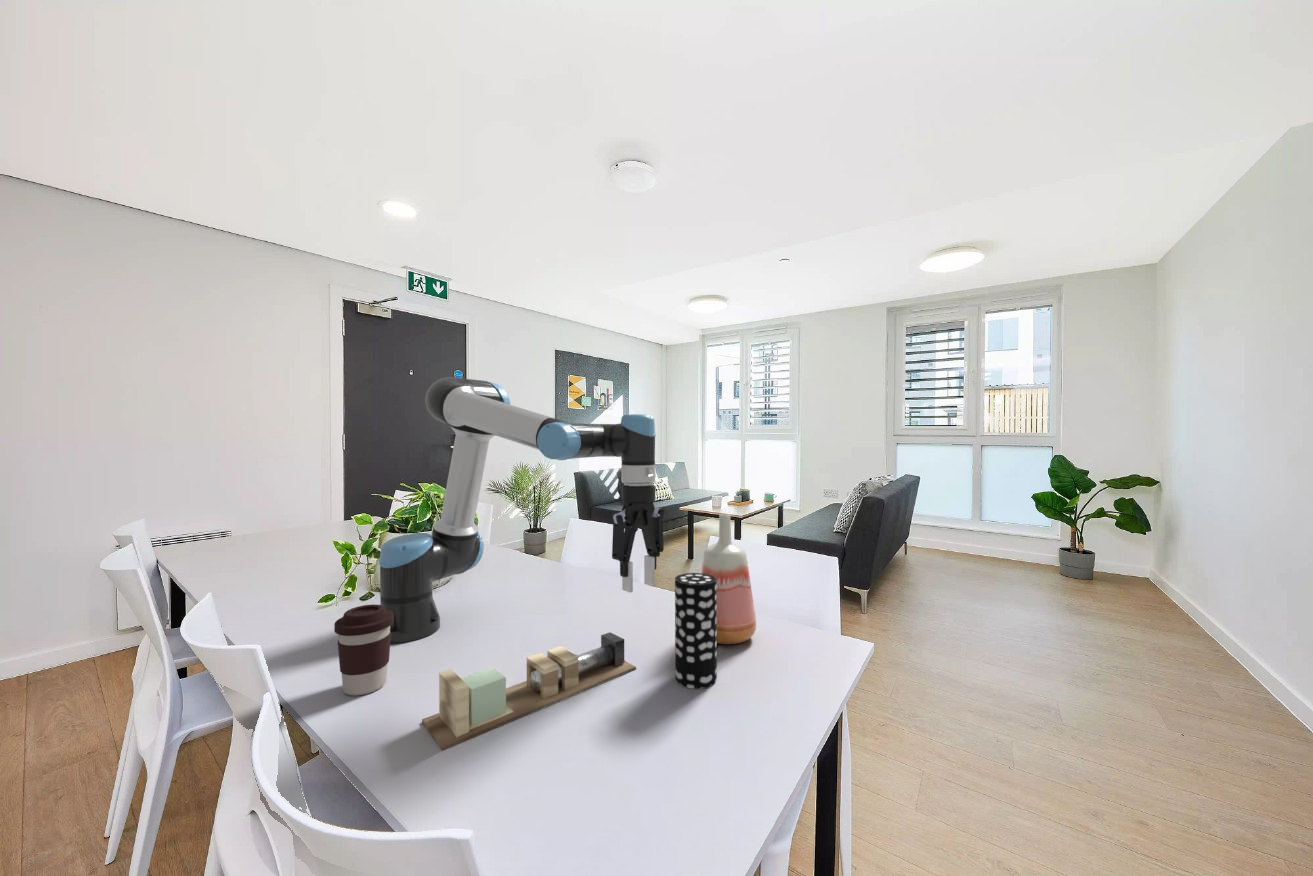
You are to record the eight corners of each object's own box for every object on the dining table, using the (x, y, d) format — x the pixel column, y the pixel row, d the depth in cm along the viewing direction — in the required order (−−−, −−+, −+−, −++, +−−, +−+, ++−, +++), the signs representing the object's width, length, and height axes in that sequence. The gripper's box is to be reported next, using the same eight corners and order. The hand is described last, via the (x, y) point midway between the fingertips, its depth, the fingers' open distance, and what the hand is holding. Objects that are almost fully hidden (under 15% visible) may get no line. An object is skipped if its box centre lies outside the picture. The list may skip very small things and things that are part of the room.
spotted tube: (720, 671, 101) (720, 575, 101) (711, 691, 93) (711, 586, 93) (681, 665, 104) (681, 571, 103) (669, 684, 96) (669, 582, 96)
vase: (687, 644, 114) (687, 517, 114) (705, 622, 128) (705, 508, 128) (749, 654, 109) (749, 521, 109) (761, 630, 122) (760, 511, 122)
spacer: (460, 712, 85) (460, 678, 85) (493, 700, 89) (493, 667, 89) (471, 725, 81) (471, 689, 81) (505, 711, 85) (505, 677, 85)
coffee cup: (367, 703, 89) (366, 621, 89) (321, 697, 91) (321, 617, 91) (405, 677, 99) (405, 603, 99) (363, 672, 101) (363, 599, 101)
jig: (422, 722, 83) (421, 675, 83) (607, 653, 110) (607, 617, 110) (442, 750, 76) (442, 698, 76) (635, 669, 102) (635, 630, 102)
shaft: (528, 685, 94) (528, 659, 94) (610, 655, 107) (610, 632, 107) (541, 695, 90) (541, 668, 90) (624, 662, 103) (624, 639, 103)
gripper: (615, 488, 100) (615, 601, 100) (680, 482, 112) (680, 583, 113) (593, 485, 105) (594, 592, 106) (658, 480, 118) (658, 576, 118)
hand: (638, 587), depth 109 cm, fingers open, 6 cm apart
